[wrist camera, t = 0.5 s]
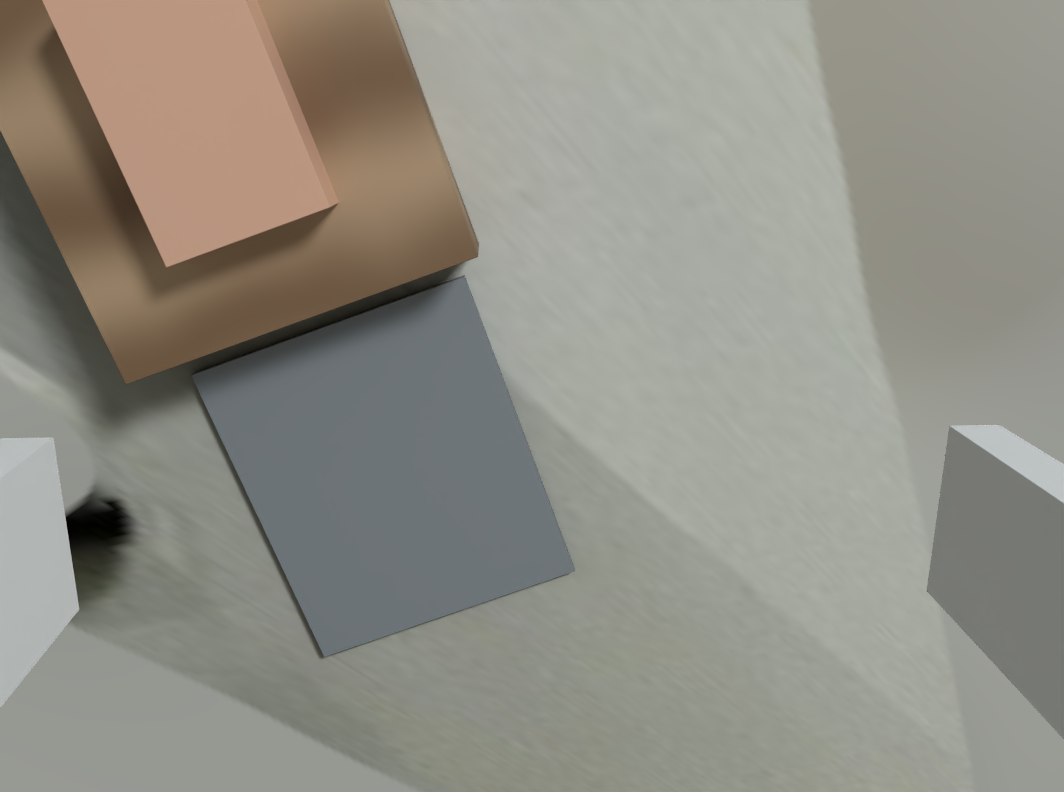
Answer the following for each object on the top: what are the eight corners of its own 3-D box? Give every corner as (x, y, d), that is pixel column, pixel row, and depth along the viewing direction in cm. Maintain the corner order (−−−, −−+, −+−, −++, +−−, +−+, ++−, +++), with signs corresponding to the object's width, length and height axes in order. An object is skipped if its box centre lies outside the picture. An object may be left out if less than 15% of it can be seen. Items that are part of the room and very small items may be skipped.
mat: (193, 372, 40) (190, 375, 39) (464, 275, 39) (464, 276, 39) (325, 652, 43) (324, 657, 43) (574, 567, 43) (574, 570, 42)
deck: (-3, 17, 36) (-63, 3, 32) (345, -118, 35) (328, -148, 31) (161, 359, 39) (125, 384, 35) (478, 244, 39) (477, 256, 35)
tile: (68, 7, 32) (41, -1, 30) (233, -57, 32) (217, -69, 30) (184, 259, 34) (166, 267, 32) (339, 202, 34) (330, 207, 32)
